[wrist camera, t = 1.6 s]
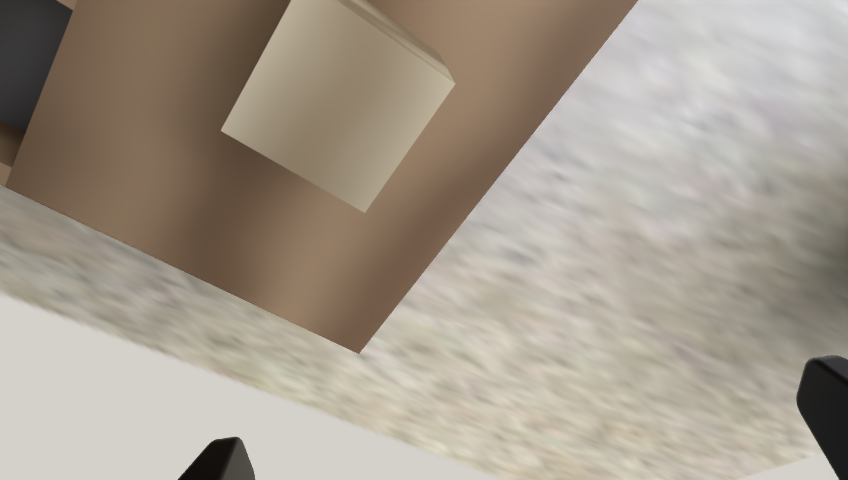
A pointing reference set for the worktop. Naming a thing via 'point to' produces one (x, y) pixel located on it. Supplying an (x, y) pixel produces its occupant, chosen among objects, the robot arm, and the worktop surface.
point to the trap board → (250, 170)
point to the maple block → (340, 96)
